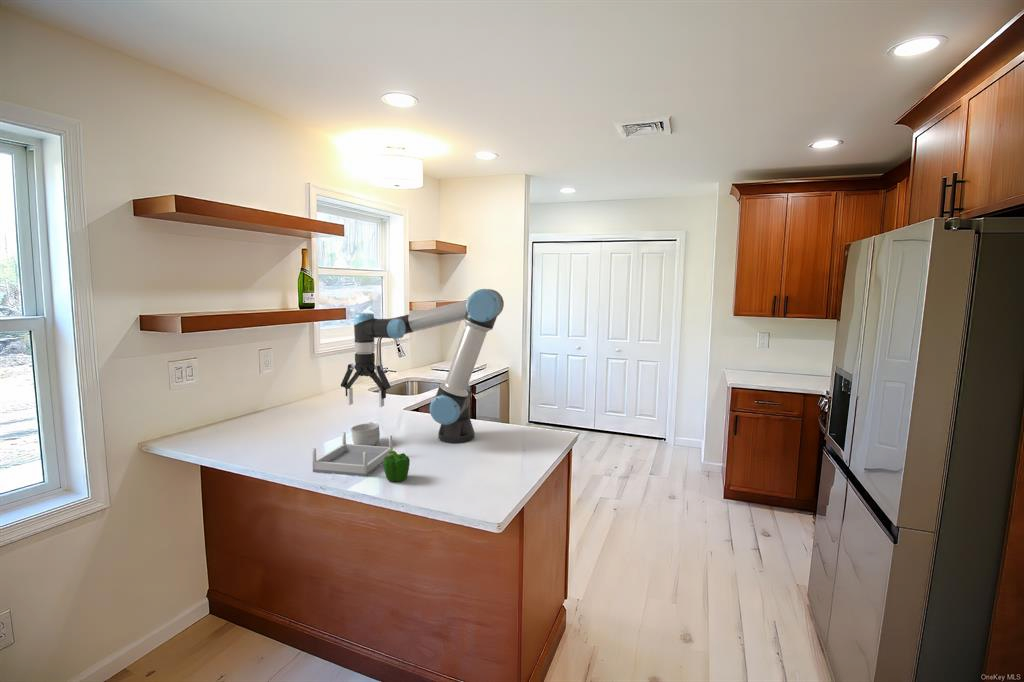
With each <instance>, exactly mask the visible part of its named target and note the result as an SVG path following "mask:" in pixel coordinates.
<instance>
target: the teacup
mask: <svg viewBox="0 0 1024 682" xmlns="http://www.w3.org/2000/svg"><path fill="white" fill-rule="evenodd" d="M350 432H351V439H352V444H354V445H367V446H376V445H377V443H378V442H380V438H381V437H380V435H381V434H380V424H379V423H376V422H372V421H370V422H367V423H365V422H364V423H359V424H355V425H354V426H352V427H351V428H350Z"/></svg>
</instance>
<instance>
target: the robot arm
mask: <svg viewBox="0 0 1024 682" xmlns="http://www.w3.org/2000/svg"><path fill="white" fill-rule="evenodd" d="M504 306H505V302H504V299H503V296H502V295H501V294H500V293H499V291H497V290H495V289H491V288H488V289H487V288H479V289H477V290H476V291H474V292H472V293H471V294H470V296H468V298H467V299H465V300H461V301H456V302H452V303H449V304H445V305H440V306H436V307H433V308H429V309H424V310H421V311H418V312H413V313H409V314H405V315H401V316H397V317H391V318H375V315H374V313H370V312H359V313H356V314H354V318H353V319H354V320H353V331H354V333H353V334H354V352H355V354H354V363H355V364H354V363H349V364H348V365H347V370H346V373H345V374H344V376H343V378H342V381H341V383H340V387H341V388H344V389H345V397H347V406H351V405H353V404H354V393H353V392H354V391H353V390H354V388H353V387H352V386H353V384H354V383H355V382H356V381H357V379H359V377H369V378H370V379H371V380H373V382H374V383H375V385H377V387H378V388H379V390H378V403H379V405H378V407H379V408H382V407H384V406H385V399H386V398H387V390H389V389H391V385H390V382H389V380H388V378H387V376H386V373H385V372H384V367H383V365H382V364H379V365H375V362H376V359H375V358H376V354H375V339H379V338H380V339H393V340H395V339H403V338H404V335H406V334H410V333H414V332H419V331H422V330H423V331H424V330H427V329H431V328H436V327H440V326H444V325H448V324H452V323H456V322H460V321H464V322H465V326H464V328H463V331H462V333H461V337H460V340H459V342H458V345H457V348H456V351H455V352H454V356H453V359H452V361H451V364H450V367H449V370H448V373H447V376H446V378H445V381H443V382H441V383H439V386H438V389H437V392H436V394H435V397H434V398H433V399H432V400H431V402H430V404H429V414H430V416H431V417H432V419H433V421H435V422H436V423H438V424H440V426H439V429H438V433H437V434H438V435H437V438H439V439H440V440H439V439H438V440H439V441H441V442H443V441H444V443H448V442H449V444H451V443H452V444H459V442H461V443H466V441H467V442H470V441H472V440H474V439H473V438H475V437H476V435H475V433H476V432H475V430H474V427H473V423H472V421H471V388H470V387H471V386H470V385H469V382H470V379H471V378H472V377H471V376H472V374H473V372H474V368H475V366H476V364H477V360H478V358H479V355H480V352H481V350H482V347H483V344H484V341H485V338H486V336H487V334H488V332H489V331H492V330H493V329H494V326H495V323H496V321H497V318H498V316H499V315H500V314H501V313H502V312H503V309H504ZM354 370H355V373H354V374H353V376H352V373H353V371H354ZM376 371H377V373H376ZM377 374H378V375H377ZM351 376H352V377H351ZM350 378H351V379H350Z"/></svg>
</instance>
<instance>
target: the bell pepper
mask: <svg viewBox="0 0 1024 682" xmlns="http://www.w3.org/2000/svg"><path fill="white" fill-rule="evenodd" d="M388 453H389V454H391V453H393V454H392V455H390V456H387V457H385V458H384V460H383V461H384V464H383V470H384V475H385V477H386V479H387V481H389V482H402V481H405V480H406V479H407V477H408V475H409V470H410V469H409V468H410V463H411V461H410V460H411V459H410V457H409V456H407V455H406V453H404V452H402V453H397V451H395V450H393V451H388Z"/></svg>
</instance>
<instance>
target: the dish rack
mask: <svg viewBox="0 0 1024 682" xmlns="http://www.w3.org/2000/svg"><path fill="white" fill-rule="evenodd" d="M341 434H342V436H341V437H342V438H341V439H342V441H341V442H342V443H341V445H339V446H338V447H337V446H336V448H334V449H332V450H330V451H329V452H327V453H325V454H324V455H322V456H320V457H319V458H317V449H316V448H315V447H314V448H312V449H311V453H312V455H311V456H312V472H313V473H321V472H322V473H321V474H332V473H334V474H335V475H343V474H345V475H344V476H346V475H347V476H355V475H358V476H357V477H366V476H367V475H368V474H369V475H371V474H372V473H373V472H374V471H376V470H377V469H378V468H380V467H381V466H382V465H384V464H383V463H384V461H383V460H384V458H385V457H387V456H390V455H392V454H393V453H391V454H389V453H388V451H394V450H393V447H394V446H393V435H392V434H391V435H388V446H378V445H374V446H367V445H355V444H354V443H352V444H351V443H349V444H348V443H347V439H346V432H344V431H343V432H341ZM381 464H382V465H381ZM380 465H381V466H380ZM379 466H380V467H379ZM376 468H377V469H376ZM375 469H376V470H375ZM372 471H373V472H372ZM371 472H372V473H371ZM334 474H333V475H334ZM369 475H368V476H369ZM368 476H367V477H368Z"/></svg>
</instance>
